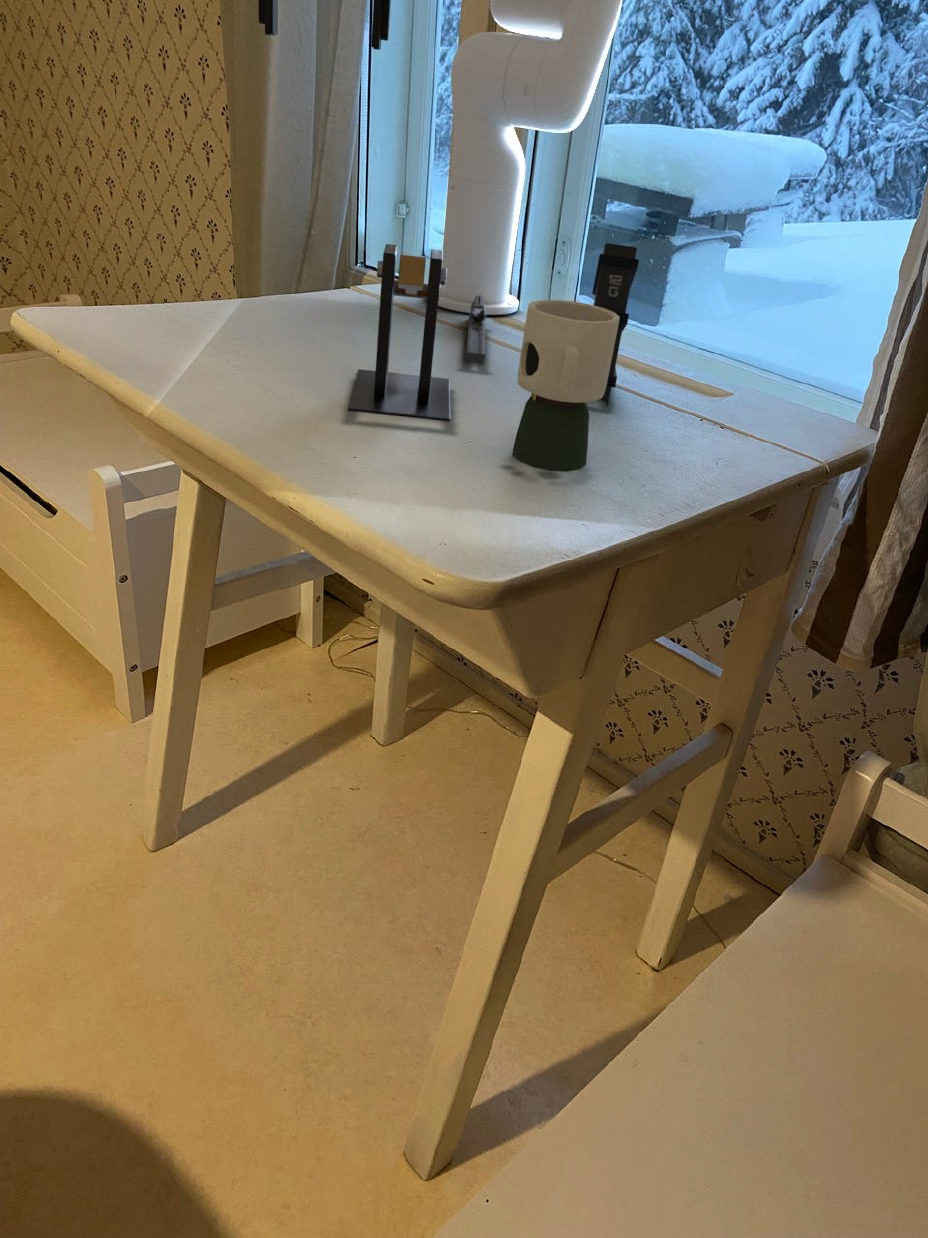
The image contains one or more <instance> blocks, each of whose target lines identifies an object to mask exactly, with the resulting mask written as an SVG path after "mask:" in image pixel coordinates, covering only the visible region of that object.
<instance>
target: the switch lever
mask: <svg viewBox="0 0 928 1238" xmlns="http://www.w3.org/2000/svg"><path fill="white" fill-rule="evenodd" d="M426 260H427V258H426V257H425V256H416V255H408V254H400V255H399V265H398V266H399V267H398V276H397V279H395V283H394V297H404V298H413V299H422V300H427V289H428V283H425V273H426V262H427V261H426ZM439 293H440V289H439ZM438 300H439V299H438Z"/></svg>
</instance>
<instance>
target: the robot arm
mask: <svg viewBox="0 0 928 1238" xmlns="http://www.w3.org/2000/svg"><path fill="white" fill-rule="evenodd" d="M391 3H392V0H373V5H372V21H371V23H372V24H371V41H370V42H371V43H370V47H371V48H372V49H373V50H377V51H381V49H382V41H384V42H385V41H386V42H388V41H389V36H390V35H389V34H390V19H391V18H390V16H391ZM622 3H623V0H489V9H490V13H491V15H492V17H493V19H494V21H495V22H496V23H497V24H498V25H499V26H500V27H502V28H504V29H506V30H507V31H510V32H514V33H510V32H509V33H508V32H501V31H500V32H499V31H485V32H479V33H476V34H472V35H470V36H469V37H467V38H466V39H465V40H463V42H461V44H460V45H459V46H458V48H457V49H456V51H455V54H454V56H453V59H452V64H451V70H450V71H451V72H450V85H451V86H450V88H451V102H452V123H453V124H452V127H453V128H452V146H451V159H450V170H449V177H448V178H449V179H448V188H447V189H448V190H447V201H446V211H445V220H444V228H443V229H444V231H443V239H442V249H441V250H442V268H446V269H447V273H446V283H445V285H440V293H439V300H438V307H440V308H443V309H446V310H450V311H455V312H459V313H466V314H469V312H471V305H472V303H473V301H474V299H475V296H479V295H480V294H481V297H484V303H485V310H486V316H497V315H498V316H501V315H502V316H503V315H509V314H513V313H516V311H518V310H519V304H520V303H519V300H518V299H517V297H515V296H513V295H511V294H510V285H511V279H512V278H511V276H512V269H513V263H514V262H513V261H514V255H515V248H516V241H517V233H518V227H519V217H520V211H521V203H522V202H521V201H522V195H523V188H524V183H525V174H526V162H525V156H524V153H523V152H524V151H523V149H522V146H521V143H520V141H519V139H518V137H517V134H516V130H515V128H523V129H530V130H536V131H543V132H549V133H558V134H559V133H569V132H572V131H573V130H575V129H577V127H578V126H579V125H580V124H581V123H582V121H583V120H584V118H585V116H586V114H587V112H588V110H589V108H590V105H591V102H592V100H593V97H594V94H595V91H596V88H597V85H598V82H599V79H600V76H601V72H602V70H603V67H604V64H605V60H606V58H607V56H608V55H607V54H608V52H609V49H610V46H611V43H612V40H613V37H614V33H615V31H616V28H617V24H618V20H619V18H620V14H621V8H622ZM257 16H258V23H259V24H261V25H264V34H265V35H266V36H273V37H276V35H278V34H279V31H278V30H279V0H258V15H257ZM482 310H483V309H482V308H481V309H479V308H475V309H474V310H473V311H474V312H475V313H480V312H481V311H482Z"/></svg>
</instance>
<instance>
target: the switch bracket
mask: <svg viewBox="0 0 928 1238" xmlns="http://www.w3.org/2000/svg"><path fill="white" fill-rule="evenodd" d="M442 250H443V249H441V250H440V249H433V248H431V249H430V259H429V269H428V270H429V271H428V279H427V284H428V289H427V299H425V300H426V302H425V314H424V324H423V333H422V334H423V335H422V344H421V345H422V346H421V357H420V367H419V375H416V374H407V373H399V372H389V363H390V351H391V336H392V322H393V308H394V298H395V296H394V283H395V280H396V268H397V254H398V245H397V244H390V243H386V244H385V247H384V249H383V253H382V260H378V261H377V265H376V267H377V268H376V278H377V279H381V281H380V297H379V312H378V314H379V315H378V328H377V343H376V357H375V370H370V369H363V368H362V369H361V368H360V369H358V371H357V374H356V378H355V381H354V386H353V389H352V392H351V397H350V400H349V404H348V407H347V411H348V412H355V413H366V414H367V413H368V414H375V415H385V416H393V417H394V416H395V417H405V418H414V419H423V420H432V421H442V422H451V385H450V383H451V382H450V378H445V377H434V376H432V370H433V360H434V348H435V341H436V340H435V339H436V338H435V337H436V329H437V328H436V327H437V320H438V319H437V318H438V310H439V309H438V307H439V306H438V299H439V289H440V285H445V283H446V273H447V269H446V268H442Z"/></svg>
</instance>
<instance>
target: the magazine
mask: <svg viewBox="0 0 928 1238" xmlns="http://www.w3.org/2000/svg"><path fill="white" fill-rule="evenodd" d="M603 247H604V248H603V252H602V253H600V254H599V256H598V260H597V267H596V270H595V271H596V272H595V276H594V281H593V286H592V292H591V295H594V299H593V304H592V305H594V306H597V307H601V308H604V309H607V310H609V311H612V312H614V313H616V314H617V315H618V316H619V317H620V318H619V325H618V330H617V335H616V340H615V345H614V350H613V355H612V360H611V365H610V370H609V375H608V381H607V386H606V389H605V393H604V395H603V397H602V399H599V400H598V401H601V402H604V403H605V406H606V407H607V408H608V406H609V401H610V398H611V397H610V396H611V391H612V388H616V385H617V380H618V375H617V368H616V367H617V366H616V365H617V360H618V356H619V350H620V344H621V340H622V339H621V338H622V335H623V332H624V330H625V328H626V327H627V326H628V323H629V317H630V313H627V307H628V301H629V296H630V291H631V288H632V285H633V282H634V280H635V277H636V273H637V271H638V267H639V264H640V263H639V262H640V259H638V258H636V257H637V253H638V252H637V251H638V248H637V247H636V246H630V245H622V244H617V243H610V242H608V243H607V242H606V243H605V244H604V246H603Z"/></svg>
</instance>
